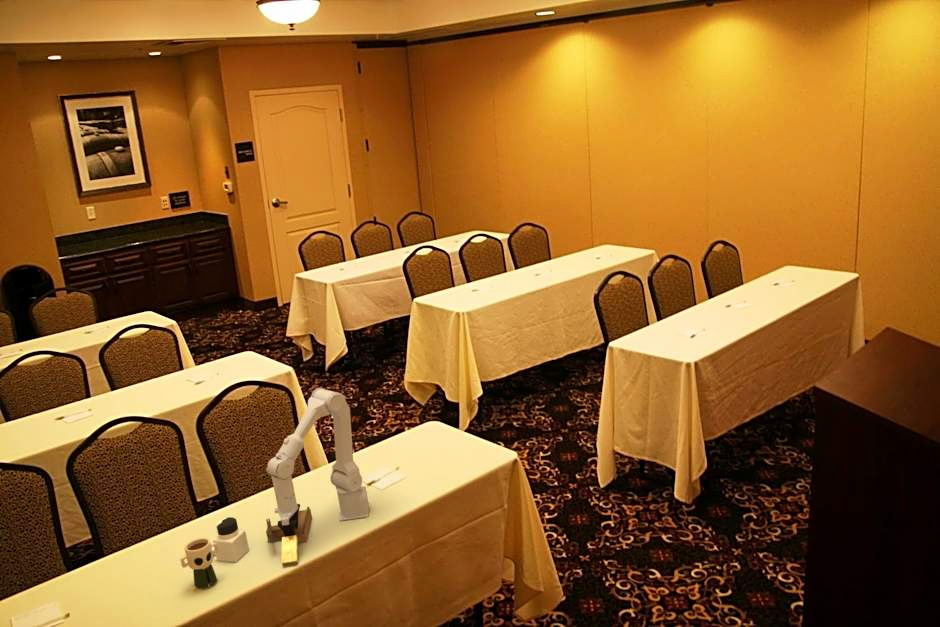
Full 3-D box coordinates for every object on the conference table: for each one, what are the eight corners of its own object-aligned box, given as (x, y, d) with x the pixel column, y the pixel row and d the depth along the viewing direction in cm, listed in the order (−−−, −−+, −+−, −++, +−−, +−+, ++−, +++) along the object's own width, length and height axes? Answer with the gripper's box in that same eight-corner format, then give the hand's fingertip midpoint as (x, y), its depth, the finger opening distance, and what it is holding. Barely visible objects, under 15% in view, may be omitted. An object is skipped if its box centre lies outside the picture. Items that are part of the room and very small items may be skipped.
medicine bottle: (249, 550, 242) (242, 515, 239) (236, 562, 235) (228, 527, 232) (230, 548, 244) (223, 514, 241) (216, 561, 238) (208, 526, 235)
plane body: (312, 517, 257) (309, 506, 256) (306, 542, 242) (304, 530, 241) (274, 523, 257) (271, 512, 256) (266, 548, 241) (264, 537, 240)
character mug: (193, 597, 220) (183, 556, 217) (183, 588, 225) (173, 548, 222) (229, 579, 226) (220, 540, 223) (219, 571, 232) (210, 532, 229)
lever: (274, 542, 236) (272, 533, 235) (270, 543, 236) (268, 534, 235) (271, 526, 246) (269, 518, 245) (267, 527, 245) (265, 519, 245)
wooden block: (297, 537, 236) (296, 535, 234) (298, 563, 231) (296, 560, 229) (283, 540, 235) (281, 537, 234) (283, 565, 230) (281, 563, 229)
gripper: (275, 486, 243) (283, 524, 247) (268, 508, 229) (276, 548, 233) (298, 482, 244) (305, 521, 247) (292, 504, 230) (300, 545, 233)
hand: (293, 534), depth 240 cm, fingers open, 7 cm apart
